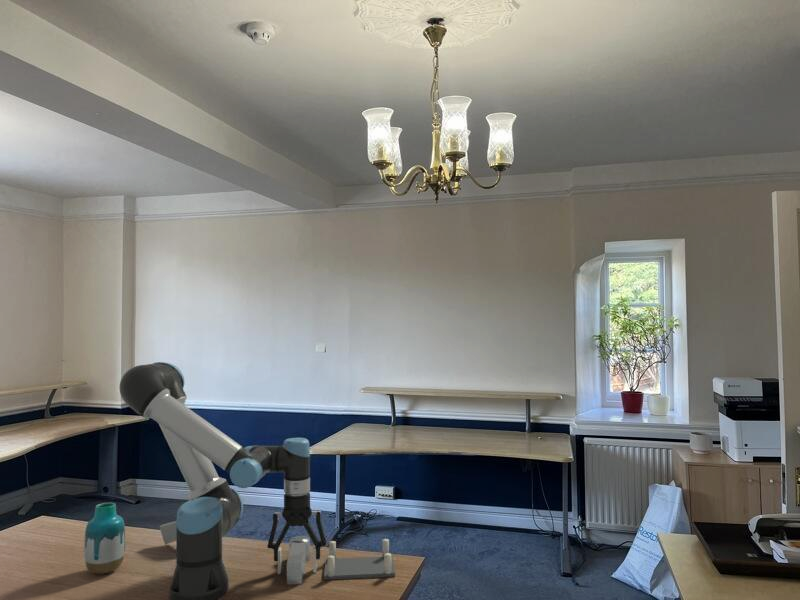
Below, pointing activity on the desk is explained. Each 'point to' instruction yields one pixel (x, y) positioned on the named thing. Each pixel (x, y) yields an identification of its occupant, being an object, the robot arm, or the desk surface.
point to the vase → (104, 540)
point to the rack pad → (359, 565)
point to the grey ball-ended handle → (297, 559)
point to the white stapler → (168, 532)
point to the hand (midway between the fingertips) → (297, 571)
